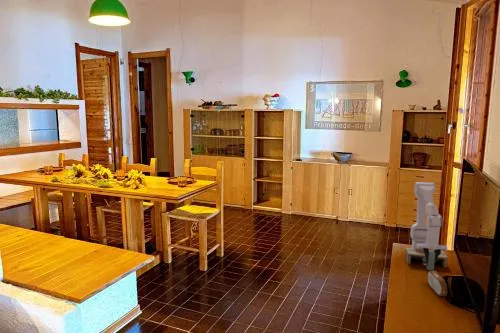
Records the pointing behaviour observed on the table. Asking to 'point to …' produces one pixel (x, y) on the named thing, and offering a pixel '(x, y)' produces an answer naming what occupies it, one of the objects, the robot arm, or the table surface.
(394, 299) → the table surface
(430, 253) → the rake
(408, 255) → the grey bridge block
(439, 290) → the tin
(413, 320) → the table surface
